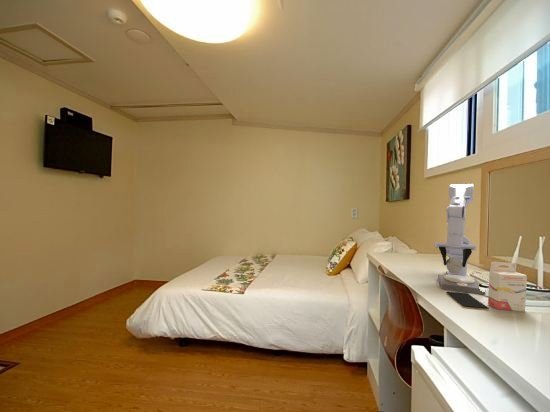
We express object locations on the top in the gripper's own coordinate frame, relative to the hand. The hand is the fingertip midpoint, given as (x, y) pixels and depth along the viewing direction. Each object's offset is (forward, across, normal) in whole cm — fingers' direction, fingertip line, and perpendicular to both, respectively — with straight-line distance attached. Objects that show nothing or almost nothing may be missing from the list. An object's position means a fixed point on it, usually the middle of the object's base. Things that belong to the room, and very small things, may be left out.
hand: (454, 265), depth 117 cm
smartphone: (+8, +1, -22) cm, 23 cm away
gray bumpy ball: (+3, -1, 0) cm, 3 cm away
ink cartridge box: (+8, +12, -22) cm, 27 cm away
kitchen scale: (+8, +2, -2) cm, 8 cm away
